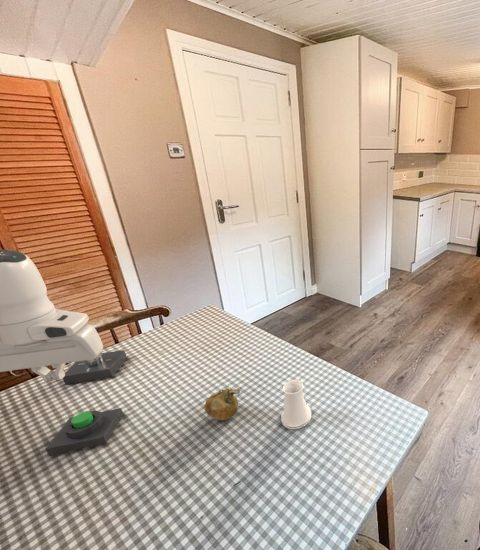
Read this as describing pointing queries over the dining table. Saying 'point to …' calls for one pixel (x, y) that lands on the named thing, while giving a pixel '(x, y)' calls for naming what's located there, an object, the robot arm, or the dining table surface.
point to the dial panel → (95, 368)
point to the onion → (222, 404)
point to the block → (86, 433)
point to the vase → (295, 406)
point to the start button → (82, 419)
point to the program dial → (94, 361)
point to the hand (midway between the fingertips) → (55, 378)
